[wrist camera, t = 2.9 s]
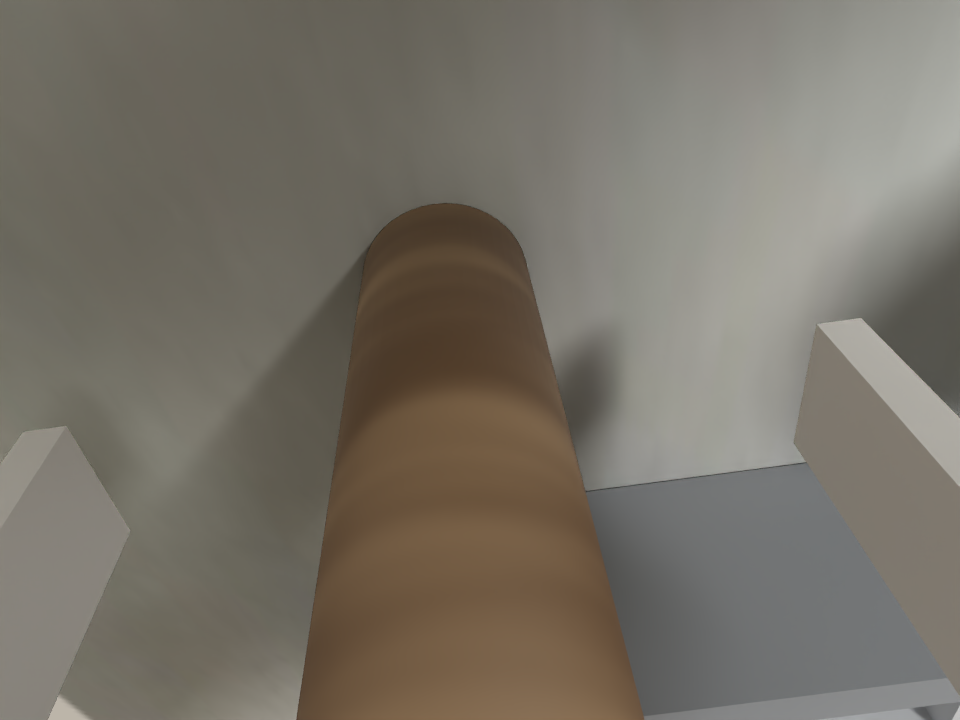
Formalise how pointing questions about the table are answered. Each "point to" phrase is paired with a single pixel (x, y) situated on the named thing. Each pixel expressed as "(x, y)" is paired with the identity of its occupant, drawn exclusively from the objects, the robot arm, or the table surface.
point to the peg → (458, 502)
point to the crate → (758, 605)
